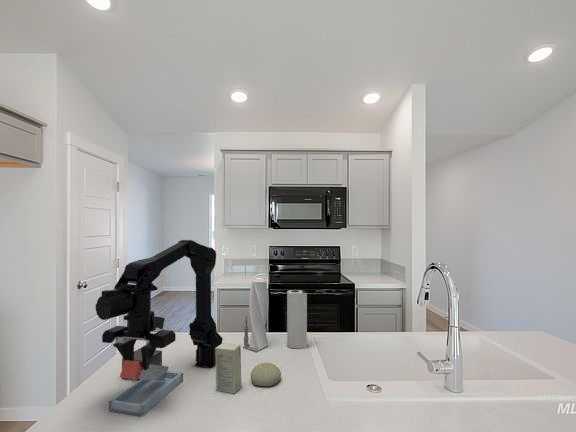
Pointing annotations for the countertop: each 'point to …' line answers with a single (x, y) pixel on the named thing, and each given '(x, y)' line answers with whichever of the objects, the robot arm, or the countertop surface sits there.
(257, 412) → the countertop surface
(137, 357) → the block
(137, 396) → the tray
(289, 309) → the paper towel roll
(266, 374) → the sea urchin shell
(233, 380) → the skincare box
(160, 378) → the pin
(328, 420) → the countertop surface
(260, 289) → the skyscraper
